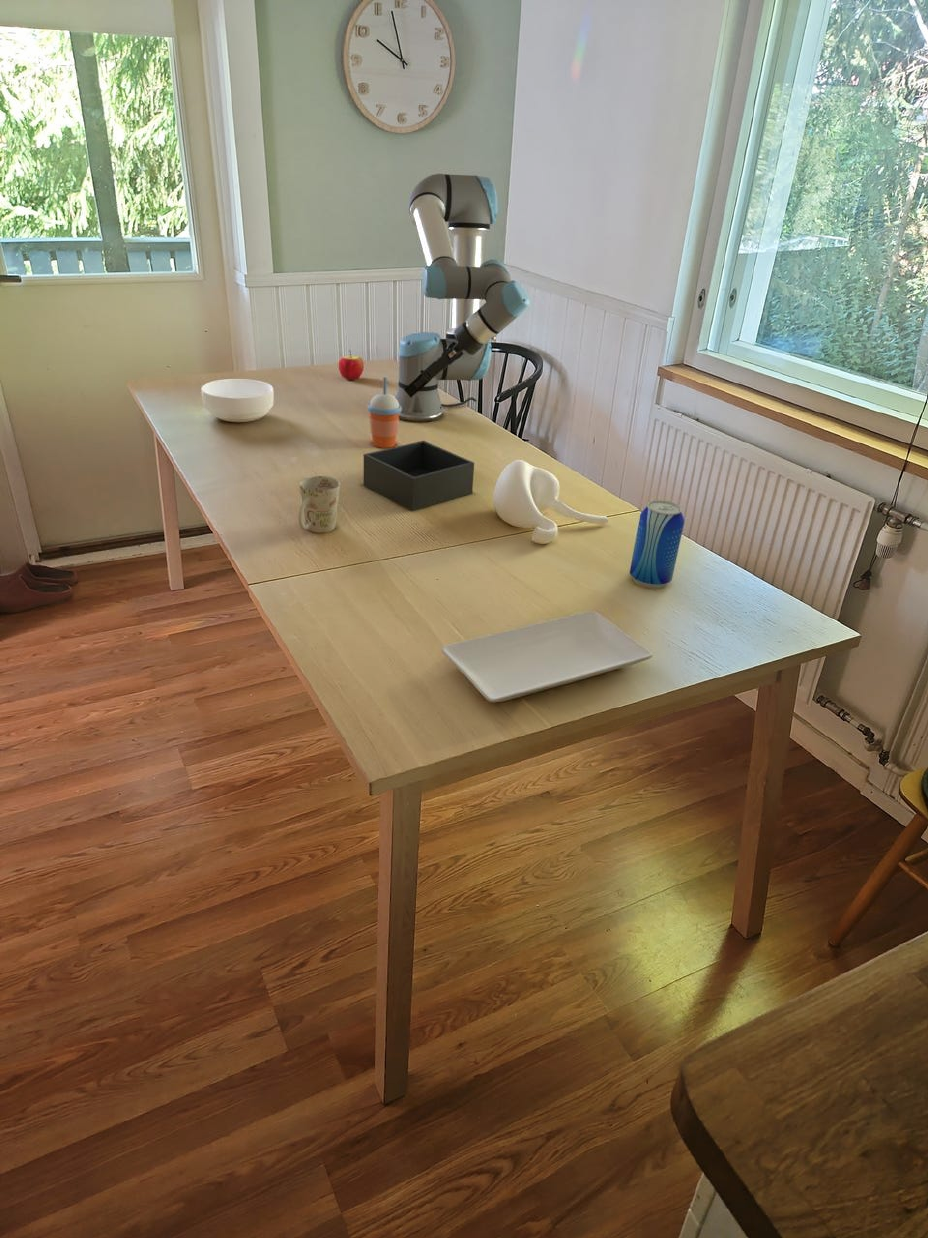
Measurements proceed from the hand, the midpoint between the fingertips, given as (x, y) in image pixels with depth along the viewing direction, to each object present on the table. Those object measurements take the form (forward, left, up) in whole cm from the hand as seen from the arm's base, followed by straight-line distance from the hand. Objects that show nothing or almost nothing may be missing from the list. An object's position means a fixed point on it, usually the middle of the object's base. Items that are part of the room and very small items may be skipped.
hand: (414, 386), depth 218 cm
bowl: (+26, -47, -17) cm, 56 cm away
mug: (+51, +29, -17) cm, 61 cm away
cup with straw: (+5, -7, -17) cm, 19 cm away
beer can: (+10, +86, -17) cm, 88 cm away
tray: (+50, +95, -17) cm, 108 cm away
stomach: (+7, +53, -17) cm, 56 cm away
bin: (+18, +23, -17) cm, 34 cm away
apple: (-26, -65, -17) cm, 72 cm away
